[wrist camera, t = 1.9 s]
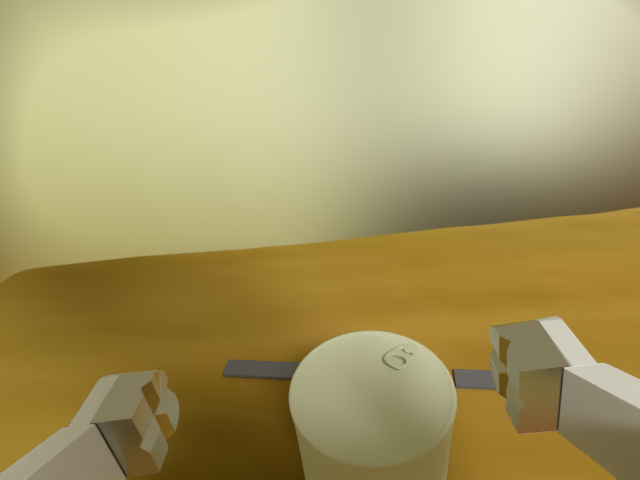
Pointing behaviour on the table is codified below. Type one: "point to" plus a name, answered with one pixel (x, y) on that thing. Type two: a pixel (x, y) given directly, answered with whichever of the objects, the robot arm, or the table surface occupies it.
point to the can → (373, 409)
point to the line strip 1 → (260, 369)
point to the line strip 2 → (474, 379)
